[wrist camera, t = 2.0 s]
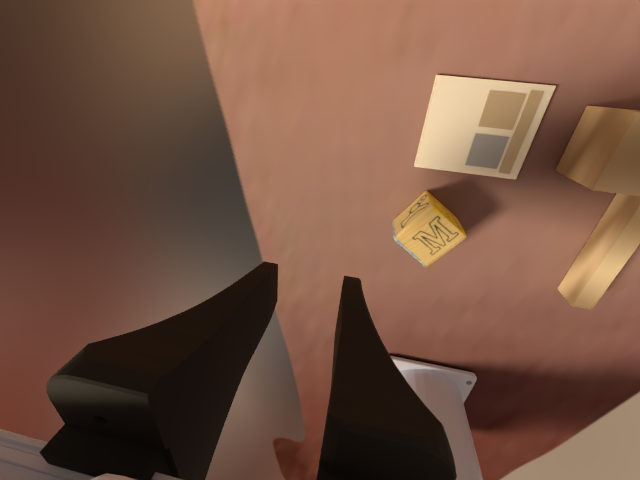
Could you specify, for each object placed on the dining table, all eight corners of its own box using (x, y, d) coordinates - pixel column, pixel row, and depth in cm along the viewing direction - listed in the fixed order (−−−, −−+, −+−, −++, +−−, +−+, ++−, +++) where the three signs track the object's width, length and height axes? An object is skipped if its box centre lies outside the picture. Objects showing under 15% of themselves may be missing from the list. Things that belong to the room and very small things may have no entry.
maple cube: (620, 178, 17) (673, 200, 14) (555, 170, 17) (592, 190, 14) (661, 112, 15) (731, 121, 12) (587, 105, 15) (637, 111, 12)
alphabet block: (390, 219, 20) (392, 240, 18) (425, 187, 19) (433, 204, 16) (421, 246, 21) (427, 269, 18) (457, 217, 20) (469, 238, 17)
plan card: (514, 178, 18) (516, 180, 17) (413, 165, 18) (414, 166, 18) (553, 85, 15) (557, 85, 15) (436, 74, 16) (436, 74, 16)
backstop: (575, 291, 20) (591, 309, 19) (557, 288, 21) (571, 306, 19) (693, 115, 15) (729, 119, 13) (666, 113, 15) (700, 116, 13)
